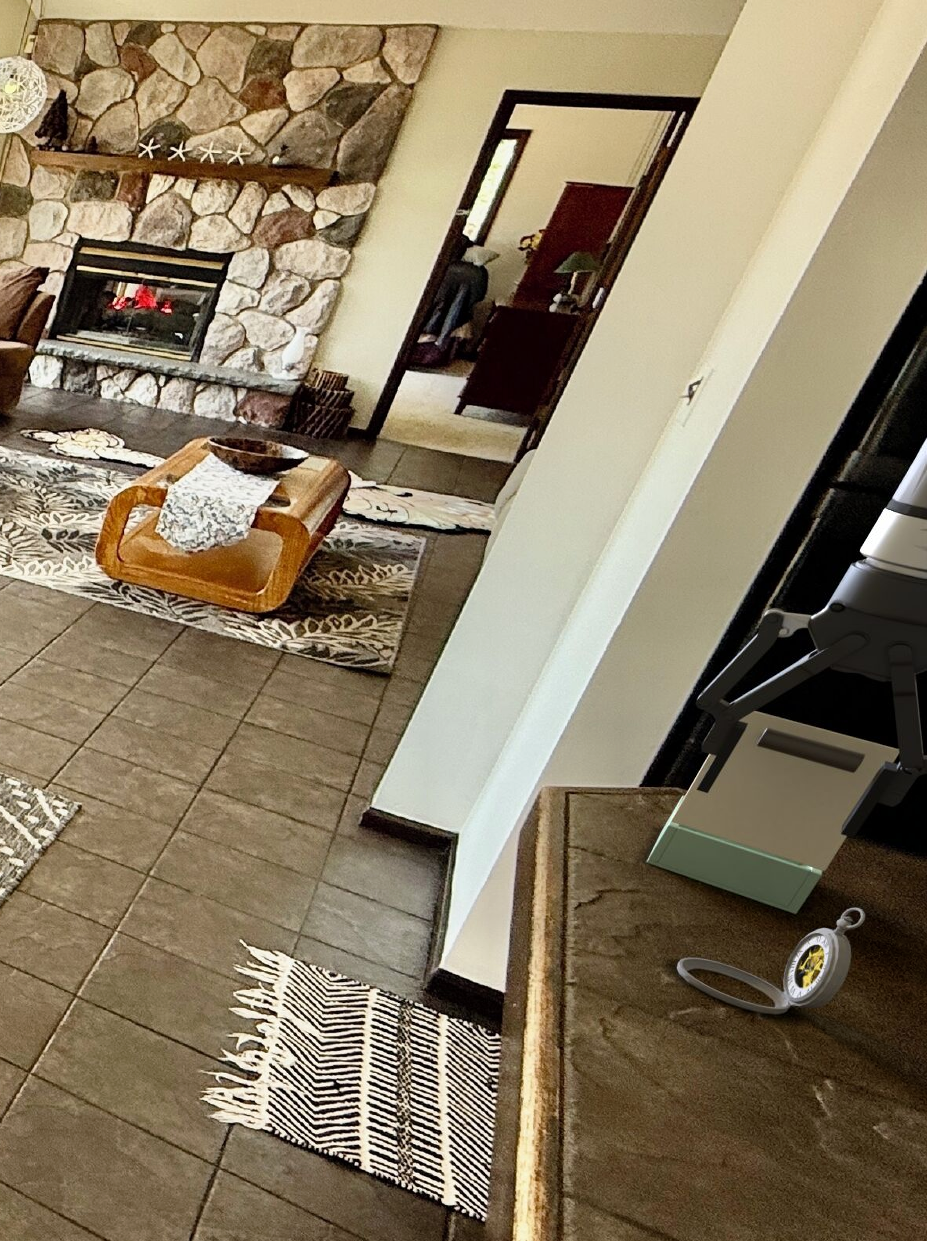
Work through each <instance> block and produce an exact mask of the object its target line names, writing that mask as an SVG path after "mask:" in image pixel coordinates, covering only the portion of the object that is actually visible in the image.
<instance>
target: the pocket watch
mask: <svg viewBox="0 0 927 1241" xmlns="http://www.w3.org/2000/svg"><path fill="white" fill-rule="evenodd" d="M854 911H855V912H859V913H860V919H859V920H858V922H856V923H855V924H853V925H852V922H854V920H853V918H852V917H851V916H847V915H848V914H850V913H851V912H854ZM865 920H866V913H865V911H864V910H863V909H861V908H860V907H850V908H847V909H846V910H845V911H844V912H842V913H841V916H840V918H839V919H838V920H836V926H837V927H836V928H835V929H831V928H826V927H822V928H817V929H815V930H814V931H812V932H809V933H807V935H805V937H803V938H802V939H801V940H800V941H799V942H798V944H797V945H796V947H795V948H794V949H793V951H792V952H791V954H790V956H789V958H788V961H787V963H786V965H785V969H784V974H783V991H782V990H781V989H779V988H777V987H776V986H774V985H773V984H771V983H770V982H768V981H766V980H764V979H763V978H760V977H758V976H756V975H754V974H753V973H749V972H747V971H745V970H743V969H739V968H738V967H736V966H731V965H728V964H726V963H722V962H719V961H716V960H711V959H705V958H700V957H684V958H682V959H680V960H679V961H678V962H677V966H676V969H677V972H678V974H679V975H680V976H681V977H682V978H683V979H684V980H685V982H687V983H688V984H689V985H691V986H693V987H695V988H696V989H698V990H699V991H701V992H702V993H705V994H706V995H709V996H711V997H713V998H714V999H717V1000H719V1001H722V1002H724V1003H727V1004H729V1005H732V1006H734V1007H738V1008H741V1009H744V1010H747V1011H751V1012H755V1013H759V1014H766V1015H767V1014H768V1015H781V1014H785V1013H787V1012H788V1010H789V1009H790V1008H791V1007H792V1008H795V1007H800V1008H803V1009H811V1010H813V1009H819V1008H821V1007H823V1006H825V1005H826V1004H827V1003H829V1002H830V1001H831V1000H832V999H833V997H835V995H836V994H837V993H838V991H839V990H840V988H841V987H842V986H843V984H844V982H845V980H846V978H847V976H848V972H849V969H850V966H851V961H852V960H851V959H852V947H851V944H850V943H851V942H850V940H849V939H848V937H847V936H846V935H844V934H845V933H846V931H850V930H853V929H856V928H860V926H862V925H863V923H864V922H865ZM695 969H701V970H705V971H711V972H715V973H719V974H722V975H725V976H728V977H731V978H733V979H735V980H739V981H741V982H744V983H746V984H747V985H749V986H751V987H753V988H755V989H756V990H759V992H762V993H763V994H765V995H766V996H767V997H768V998H770V999H771V1000H772V1001H773V1002H774V1006H766V1005H761V1004H757V1003H753V1002H749V1001H746V1000H743V999H739V998H737V997H734V996H732V995H729V994H726V993H724V992H722V991H719V990H717V989H715V988H713V987H712V986H709V985H707V984H706V983H704V982H702V981H701V980H699V979H697V978H695V976H693V975H692V974H690V973H689V972H688V971H691V970H695Z"/></svg>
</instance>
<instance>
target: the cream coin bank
mask: <svg viewBox="0 0 927 1241" xmlns="http://www.w3.org/2000/svg"><path fill="white" fill-rule="evenodd" d="M739 721H741V722H745V723H748V725H747V727H746V730H745V732H744V733H743V735H742V737H741V738H740V740H739V742H738V743H737V745H736V747H735V748H734V750H733V752H732V753H731V755H730V757H729V758H728V760H727V762H726V763H725V765H724V767H723V768H722V770H721V772H720V773H719V775H718V777H717V778H716V780H715V782H714V784H713V785H712V787H711V789H710V790H709V792H708V793H705V792H702V791H699V790H697V787H698V785H699V783H700V781H701V780H702V778H703V776H704V775H705V773H706V771H707V769H708V768H709V766H710V764H711V763H712V761H713V759H714V758H715V755H712V754H708V755H707V757H706V759H705V761H704V762H703V764H702V766H701V768H700V770H699V771H698V773H697V775H696V777H695V778H694V780H693V782H692V783H691V785H690V787H689V789H688V790H687V792H686V794H685V795H684V796H685V797H684V799H683V801H682V802H681V804H680V806H679V807H678V809H677V811H676V813H675V814H674V816H673V818H672V819H671V821H672V822H674V823H677V824H680V825H683V826H686V827H690V828H693V829H696V830H699V831H702V832H705V833H708V834H711V835H714V836H717V837H720V838H723V839H727V840H730V841H733V842H736V843H739V844H742V845H745V846H748V847H751V848H754V849H757V850H760V851H764V852H767V853H770V854H773V855H776V856H779V857H782V858H785V859H788V860H791V861H794V862H797V863H801V864H804V865H807V866H810V867H813V868H816V869H819V870H822V872H825V871H826V870H827V869H828V867H829V866H830V864H831V863H832V861H833V860H834V858H835V856H836V854H837V853H838V852H839V850H840V848H841V846H842V845H843V843H844V842H845V840H846V839H847V837H848V836H845V835H842V834H841V829H842V825H843V823H844V822H845V820H846V819H847V817H848V816H849V814H850V813H851V811H852V810H853V808H854V807H855V805H856V804H857V802H858V801H859V799H860V798H861V796H862V795H863V793H864V792H865V790H866V788H867V787H868V785H869V784H870V782H871V781H872V779H873V778H874V776H875V775H876V773H877V772H878V770H879V769H880V767H881V766H882V764H883V763H884V761H888V762H892V763H895V761H896V759H897V757H899V748H895V747H891V746H887V745H883V744H880V743H877V742H873V741H869V740H865V739H861V738H858V737H854V736H850V735H847V734H842V733H839V732H835V731H832V730H828V729H824V728H820V727H816V726H812V725H809V724H804V723H802V722H797V721H793V720H790V719H786V718H782V717H780V716H775V715H771V714H768V713H764V712H760V711H757V710H755V711H754V712H752V713H750V714H749V715H747V716H745V717H744V718H742V719H741V720H739Z"/></svg>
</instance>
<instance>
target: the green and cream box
mask: <svg viewBox="0 0 927 1241" xmlns="http://www.w3.org/2000/svg"><path fill="white" fill-rule="evenodd" d="M684 797H685V795H682V796H681V798H680V799H679V801H678V803H677V804H676V806H675V808H674V809H673V811H672V813H671V814H670V816H669V818H668V819H667V821H666V823H665V824H664V827H663V828H662V830H661V832H660V833H659V836H658V838H657V839H656V842H655V843H654V846H653V848H652V850H651V852H650V854H649V856H648V858H647V860H646V863H647V864H650V865H653V866H656V867H659V868H661V869H664V870H667V871H670V872H673V873H676V874H679V875H682V876H685V877H688V878H691V879H693V880H696V881H699V882H701V883H705V884H707V885H711V886H713V887H716V888H719V889H722V890H726V891H728V892H731V893H734V894H737V895H740V896H743V897H745V898H749V899H751V900H754V901H757V902H760V903H762V904H765V905H769V906H771V907H774V908H776V909H777V908H778V909H780V910H783V911H785V912H789V913H792V914H795V915H796V914H797V913H798V912H799V910H800V909H801V907H802V906H803V904H804V903H805V902H806V900H807V899H808V897H809V895H810V894H811V892H812V891H813V889H814V888H815V886H816V885H817V883H818V882H819V880H820V879H821V877H822V875H823V871H822V870H819V869H816V868H813V867H810V866H807V865H804V864H801V863H797V862H794V861H791V860H788V859H785V858H782V857H779V856H776V855H773V854H770V853H767V852H764V851H760V850H757V849H754V848H751V847H748V846H745V845H742V844H739V843H736V842H733V841H730V840H727V839H723V838H720V837H717V836H714V835H711V834H708V833H705V832H702V831H699V830H696V829H693V828H690V827H686V826H683V825H680V824H677V823H674V822H672V821H671V819H672V818H673V816H674V814H675V813H676V811H677V809H678V807H679V806H680V804H681V802H682V801H683V799H684Z"/></svg>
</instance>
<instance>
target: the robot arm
mask: <svg viewBox="0 0 927 1241" xmlns="http://www.w3.org/2000/svg"><path fill="white" fill-rule="evenodd" d="M859 552H860V553H861V555H863V557H865V558H864V559H861V560H857V561H856V562H852V563H851V564H850V566H849V568H848V569H847V571H846V573H845V574H844V576H843V578H842V579H841V581H840V582H839V585H838V586H837V588H836V589H835V591H834V593H833V594H832V596H831V598H830V599H829V601H828V602H827V604H826V605H825V606H824V607H823V608H821V609H819V610H818V611H816V612H815V613H813V614H812V615H811V614H804V613H803V614H802V613H794V612H786V611H784V610H783V609H782V608H778V607H777V608H776V607H775V608H770V609H768V610H766V611H765V613H764V615H763V617H762V620H761V622H760V625H759V630H758V632H757V634H756V635H754V636H753V638H752V639H751V640H749V642H748V643H747V644H745V646H744V647H743V648H742V650H741V651H739V652H738V653H737V655H736V656H735V657H734V658H733V659H732V660H731V661H730V662H729V663H728V664H727V665H726V666H725V667H724V668H723V669H722V670H721V671H720V672H719V674H718V675H717V676H716V677H715V678H714V679H713V680H712V681H711V682H710V683H709V684H708V685H707V686H706V687H705V688H704V690H702V692H701V693H700V694H699V695H698V697H697V699H696V701H695V706H696V707H697V708H698V709H700V710H703V711H705V712H706V713H708V714H711V715H712V716H713V717H714V720H715V721H714V723H713V725H712V727H711V729H710V730H709V732H708V734H707V735H706V737H705V738H704V740H703V742H702V744H701V752H702V753H704V754H708V755H709V754H712V755H715V758H714V759H713V761H712V763H711V764H710V766H709V768H708V769H707V771H706V773H705V775H704V776H703V778H702V780H701V781H700V783H699V785H698V787H697V790H699V791H702V792H705V793H708V792H709V790H710V789H711V787H712V785H713V784H714V782H715V780H716V778H717V777H718V775H719V773H720V772H721V770H722V768H723V767H724V765H725V763H726V762H727V760H728V758H729V757H730V755H731V753H732V752H733V750H734V748H735V747H736V745H737V743H738V742H739V740H740V738H741V737H742V735H743V733H744V732H745V730H746V727H747V725H748V723H745V722H741V721H739V720H741V719H742V718H744V717H745V716H747V715H749V714H750V713H752V712H754V711H757V710H759V709H760V708H762V707H764V706H766V705H767V704H769V703H770V702H772V701H773V700H775V699H776V698H778V697H780V696H781V695H783V694H785V693H787V692H788V691H790V690H792V689H793V688H795V687H796V686H798V685H800V684H801V683H803V682H805V681H806V680H808V679H809V678H812V677H813V676H816V675H818V674H819V673H821V672H822V671H824V670H826V669H827V668H831V670H833V671H837V672H841V673H847V674H858V675H859V674H860V675H862V676H864V677H867V678H869V679H871V680H874V681H878V682H883V683H886V682H891V689H892V695H893V697H892V698H893V707H894V716H895V717H894V718H895V725H896V726H895V727H896V736H897V746H898V749H899V754H898V757H899V762H898V763H896V762H893V763H892V762H888V761H884V763H883V764H882V766H881V767H880V769H879V770H878V772H877V773H876V775H875V776H874V778H873V779H872V781H871V782H870V784H869V785H868V787H867V788H866V790H865V792H864V793H863V795H862V796H861V798H860V799H859V801H858V802H857V804H856V805H855V807H854V808H853V810H852V811H851V813H850V814H849V816H848V817H847V819H846V820H845V822H844V823H843V825H842V829H841V834H842V835H845V836H847V837H849V838H851V839H854V838H855V837H856V835H857V834H858V832H859V831H860V829H861V828H862V826H863V824H864V823H865V822H866V820H867V818H868V817H869V816H870V814H871V812H872V811H873V809H874V808H875V807H876V806H877V804H882V805H884V806H888V807H891V808H894V807H895V806H897V805H899V804H900V803H901V802H902V800H903V799H904V798H905V796H906V795H907V793H908V792H909V790H910V789H911V787H912V786H913V784H914V783H915V781H917V779H918V778H919V777H920V776H923V775H927V754H926V755H925V754H924V747H923V738H922V737H923V736H922V728H921V717H920V708H919V698H918V687H917V677H916V675H918V674H920V673H923V672H926V671H927V438H926V439H925V440H924V442H923V444H922V445H921V447H920V449H919V451H918V453H917V455H916V457H915V459H914V460H913V462H912V464H911V465H910V467H909V469H908V471H907V472H906V474H905V476H904V477H903V479H902V481H901V482H900V484H899V486H898V488H897V489H896V491H895V493H894V494H893V496H892V498H891V500H890V501H889V502H888V504H887V506H886V507H884V509H883V510H882V512H881V514H880V515H879V517H878V519H877V521H876V523H875V524H874V526H873V527H872V529H871V531H870V533H869V534H868V536H867V538H866V539H865V541H864V543H863V544H862V546H861V547H860V550H859ZM800 629H808V632H809V635H810V636H811V639H812V641H813V644H814V646H815V650H813V651H810V653H808V654H806V655H805V656H803V657H802V658H800V659H799V660H798V661H796V662H795V663H793V664H792V665H790V666H788V667H786V668H785V669H784V670H782V671H780V672H779V673H777V674H776V675H774V676H772V677H770V678H769V679H767V680H766V681H764V682H762V683H761V684H759V685H758V686H756V687H754V688H753V689H752V690H749V691H748V692H746V693H745V694H742V696H740V697H738V698H737V699H735V700H734V701H732V702H730V703H729V702H728V701H726V700H724V699H723V698H724V697H725V696H726V695H727V694H728V693H729V692H730V691H731V690H732V689H733V688H734V687H735V685H736V684H738V683H739V681H740V680H741V679H742V678H743V677H744V676H745V675H746V674H747V673H748V672H749V671H750V670H751V669H752V668H753V667H754V666H755V665H756V664H757V662H758V661H759V660H760V659H762V657H763V656H765V654H766V653H767V652H768V651H769V650H770V649H771V648H772V647H773V646H774V644H775V643H776V641H777V639H778V638H788V637H791V636H793V635H794V633H795V632H796V631H797V630H800Z"/></svg>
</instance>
